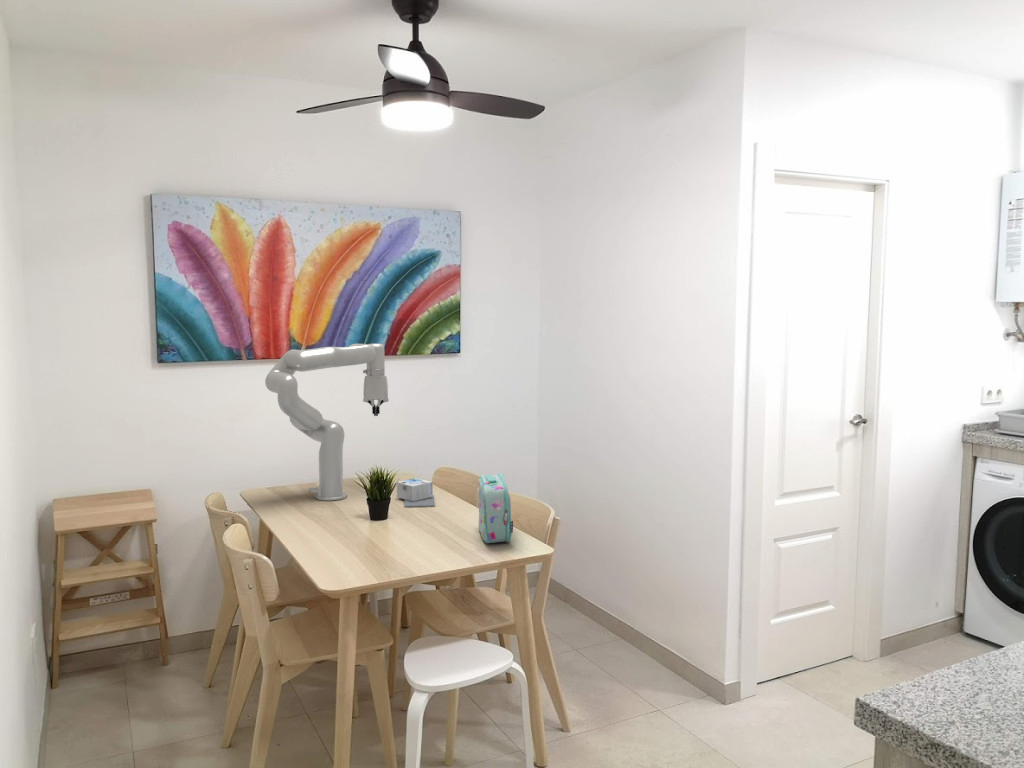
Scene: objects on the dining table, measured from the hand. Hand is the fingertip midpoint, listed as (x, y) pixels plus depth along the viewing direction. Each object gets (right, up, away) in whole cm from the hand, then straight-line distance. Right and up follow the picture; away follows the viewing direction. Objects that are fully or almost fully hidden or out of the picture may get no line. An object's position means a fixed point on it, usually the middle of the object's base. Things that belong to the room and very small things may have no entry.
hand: (376, 415), depth 334 cm
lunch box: (+52, -40, -61) cm, 89 cm away
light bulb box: (+14, -30, -16) cm, 37 cm away
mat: (+21, -34, -17) cm, 43 cm away
